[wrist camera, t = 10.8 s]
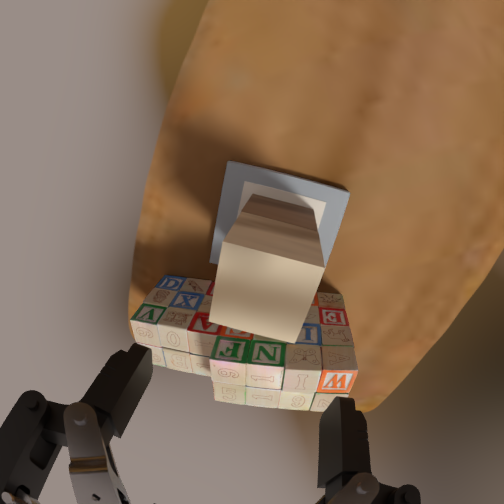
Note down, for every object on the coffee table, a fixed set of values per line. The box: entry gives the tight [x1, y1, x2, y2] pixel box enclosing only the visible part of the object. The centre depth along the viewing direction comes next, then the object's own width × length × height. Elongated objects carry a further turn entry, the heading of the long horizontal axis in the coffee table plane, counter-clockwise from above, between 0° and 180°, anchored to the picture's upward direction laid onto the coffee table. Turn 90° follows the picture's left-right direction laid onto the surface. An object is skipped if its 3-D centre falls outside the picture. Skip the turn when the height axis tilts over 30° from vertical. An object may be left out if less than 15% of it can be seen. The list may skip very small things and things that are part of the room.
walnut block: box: [241, 194, 318, 231], centre depth 25 cm, size 6×6×6 cm
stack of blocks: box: [130, 275, 358, 411], centre depth 28 cm, size 21×6×12 cm, turn 88°
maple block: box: [209, 212, 325, 344], centre depth 20 cm, size 6×6×6 cm
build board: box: [210, 161, 350, 267], centre depth 29 cm, size 11×12×1 cm
